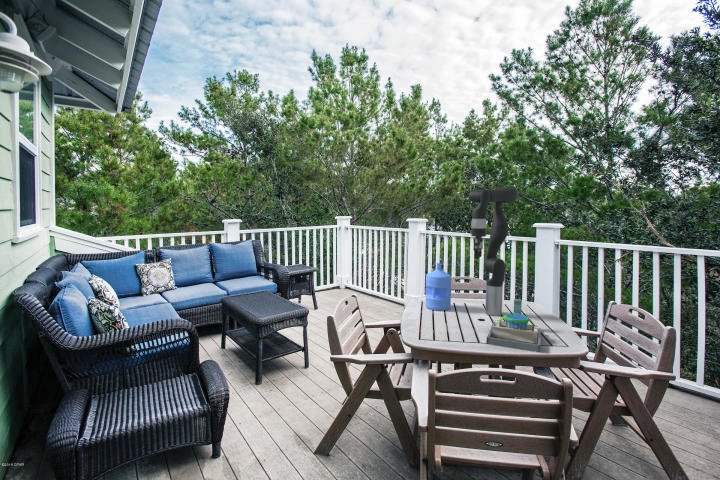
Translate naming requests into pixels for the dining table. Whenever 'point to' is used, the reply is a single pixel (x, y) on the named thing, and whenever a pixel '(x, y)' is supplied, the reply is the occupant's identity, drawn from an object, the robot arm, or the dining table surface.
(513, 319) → the snack cup
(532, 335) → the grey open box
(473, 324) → the dining table surface
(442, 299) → the water jug
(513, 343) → the rectangular frame
